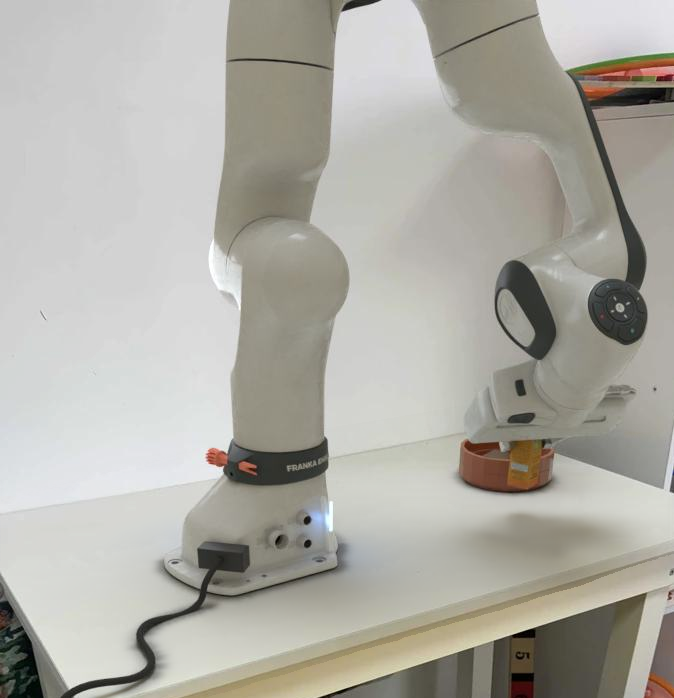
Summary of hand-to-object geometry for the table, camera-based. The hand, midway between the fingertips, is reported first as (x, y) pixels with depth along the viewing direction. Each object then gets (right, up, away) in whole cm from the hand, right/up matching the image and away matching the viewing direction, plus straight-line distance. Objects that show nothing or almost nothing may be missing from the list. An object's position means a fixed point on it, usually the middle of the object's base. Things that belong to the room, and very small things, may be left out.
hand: (524, 445), depth 118 cm
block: (-1, -3, +15) cm, 16 cm away
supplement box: (0, -5, +2) cm, 6 cm away
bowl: (+1, -2, +18) cm, 18 cm away
